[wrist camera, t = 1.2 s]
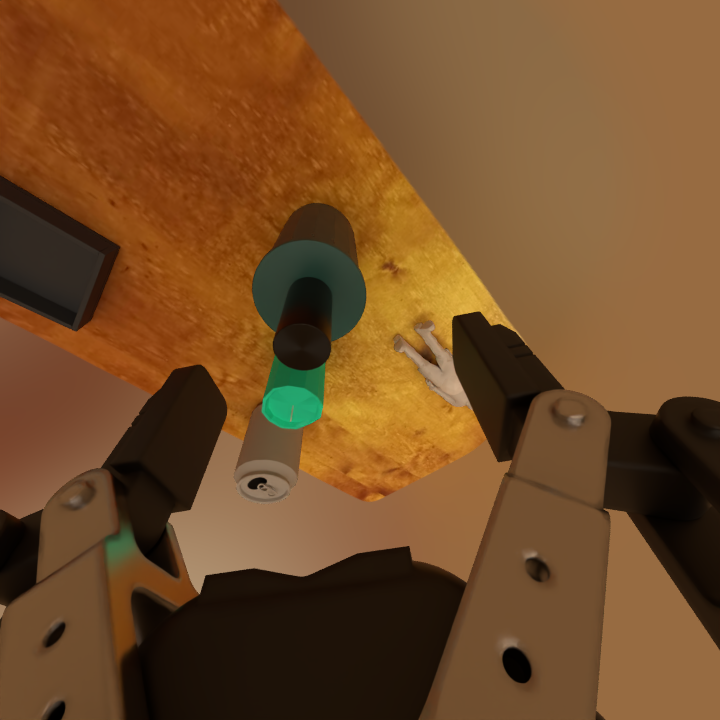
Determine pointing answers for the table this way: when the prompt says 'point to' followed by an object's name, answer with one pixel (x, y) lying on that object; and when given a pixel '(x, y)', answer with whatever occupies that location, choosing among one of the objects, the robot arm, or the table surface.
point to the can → (268, 460)
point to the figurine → (442, 378)
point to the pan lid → (308, 299)
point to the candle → (293, 396)
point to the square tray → (50, 259)
